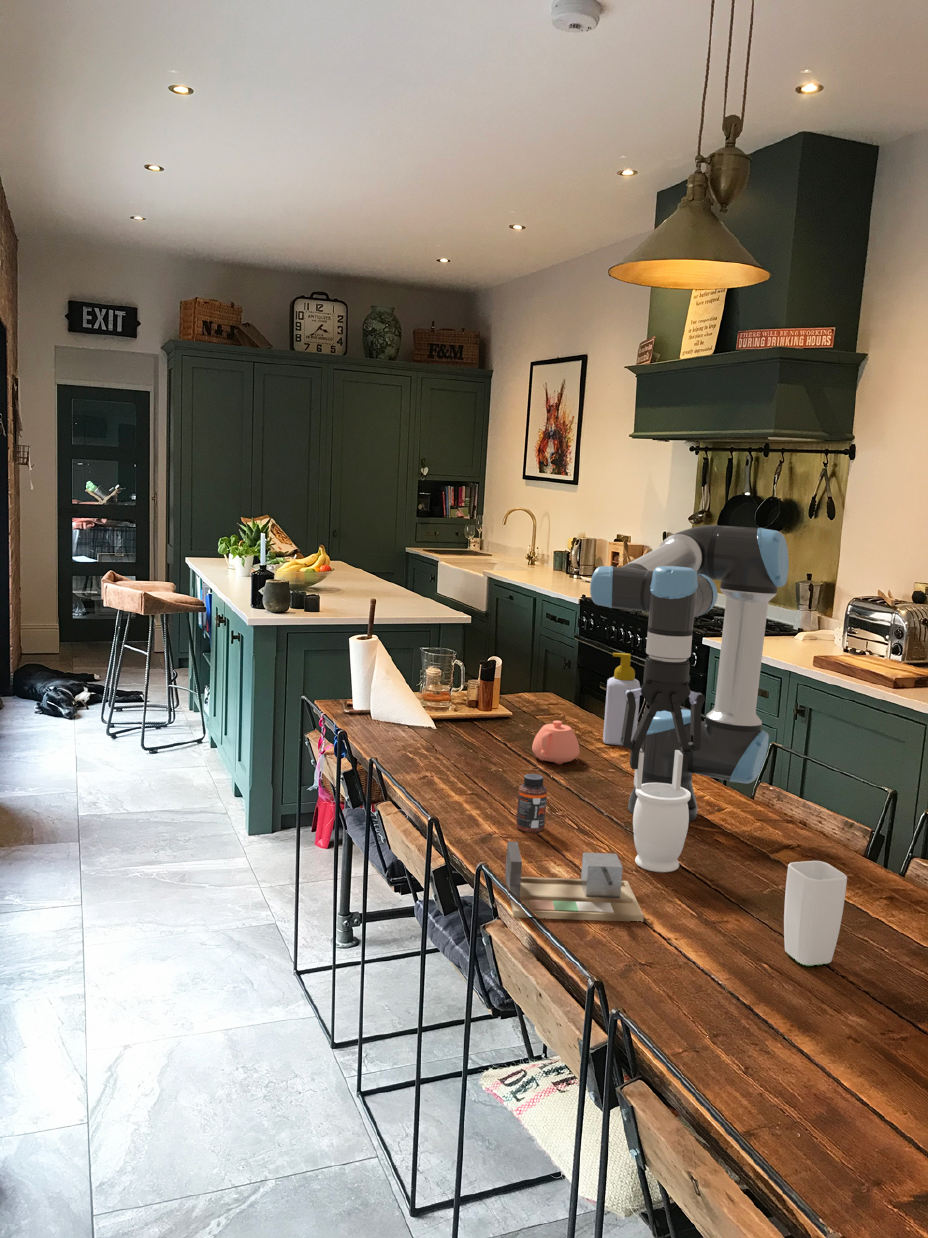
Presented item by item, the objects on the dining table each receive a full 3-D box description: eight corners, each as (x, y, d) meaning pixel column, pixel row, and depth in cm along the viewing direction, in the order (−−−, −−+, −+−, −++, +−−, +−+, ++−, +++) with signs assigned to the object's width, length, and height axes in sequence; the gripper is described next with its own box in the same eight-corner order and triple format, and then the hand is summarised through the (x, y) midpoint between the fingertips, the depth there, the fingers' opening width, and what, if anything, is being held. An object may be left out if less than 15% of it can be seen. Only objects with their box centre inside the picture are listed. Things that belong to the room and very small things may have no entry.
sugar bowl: (586, 759, 261) (589, 721, 259) (562, 771, 249) (565, 731, 248) (545, 749, 267) (547, 712, 266) (519, 761, 256) (522, 722, 254)
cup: (801, 972, 153) (811, 881, 151) (774, 950, 160) (783, 862, 158) (841, 968, 155) (852, 878, 153) (813, 946, 162) (822, 859, 160)
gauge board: (627, 887, 181) (630, 844, 180) (643, 922, 168) (647, 876, 166) (504, 882, 180) (507, 839, 179) (510, 917, 167) (513, 871, 165)
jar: (651, 879, 186) (658, 802, 183) (618, 858, 195) (624, 785, 192) (695, 871, 191) (702, 796, 188) (661, 851, 200) (667, 779, 197)
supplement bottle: (542, 835, 205) (546, 782, 203) (514, 831, 206) (517, 779, 204) (546, 825, 211) (549, 773, 209) (518, 821, 212) (521, 770, 210)
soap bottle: (603, 736, 284) (609, 650, 280) (634, 739, 283) (641, 652, 279) (603, 744, 275) (609, 655, 271) (635, 747, 274) (643, 658, 270)
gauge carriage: (613, 885, 179) (616, 853, 178) (625, 913, 168) (628, 879, 167) (580, 884, 178) (583, 852, 177) (590, 912, 167) (593, 878, 166)
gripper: (716, 655, 173) (704, 782, 177) (608, 650, 173) (598, 778, 176) (729, 664, 166) (716, 797, 170) (616, 659, 165) (606, 792, 169)
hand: (656, 787), depth 173 cm, fingers open, 6 cm apart
